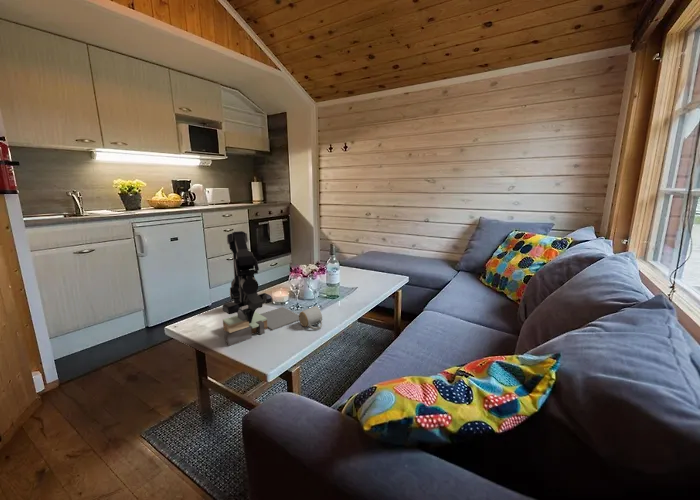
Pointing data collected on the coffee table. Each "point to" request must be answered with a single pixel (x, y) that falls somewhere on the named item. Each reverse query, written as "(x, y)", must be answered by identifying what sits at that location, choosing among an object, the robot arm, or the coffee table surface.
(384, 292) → the coffee table surface
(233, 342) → the toolbox
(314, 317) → the ceramic mug
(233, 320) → the toolbox lid
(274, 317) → the rubber mat
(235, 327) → the wooden block
